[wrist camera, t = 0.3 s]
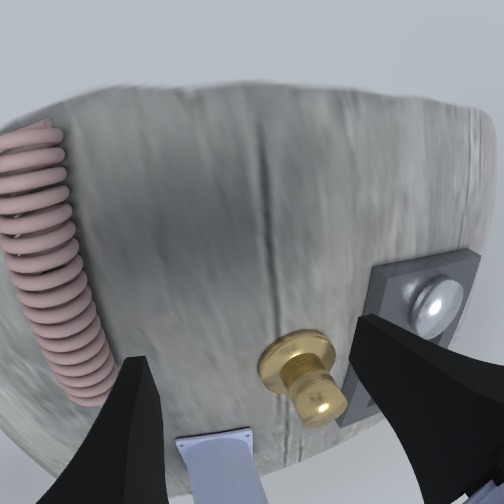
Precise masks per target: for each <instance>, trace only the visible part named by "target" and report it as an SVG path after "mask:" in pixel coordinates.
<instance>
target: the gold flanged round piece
mask: <svg viewBox="0 0 504 504" xmlns="http://www.w3.org/2000/svg"><path fill="white" fill-rule="evenodd" d="M335 357H336V353H335V349H334V347H333V345H332V344H331V343H330V341H329V340H328V339H327V337H326V336H325V335H324V334H322V333H321V332H318V331H315V330H301V331H296V332H293V333H290V334H288V335H286V336H283V337H282V338H280V339H278V340H277V341H275V342H274V343H273V344H272V345H271V346H270V347H269V348H268V349H267V350H266V351H265V352H264V354H263V355H262V357H261V359H260V362H259V373H260V376H261V379H262V381H263V383H264V385H265V387H266V388H267V389H268V390H270V391H272V392H274V393H278V394H288V395H289V397H290V399H291V401H292V403H293V405H294V408H295V410H296V412H297V414H298V416H299V418H300V420H301V422H302V424H303V426H305V427H307V428H316V427H320V426H323V425H326V424H328V423H330V422H332V421H333V420H335V419H336V418H338V417H339V416H340V415H341V414H342V413H343V412H344V411H345V409H346V407H347V405H348V402H347V400H346V398H345V397H344V395H343V394H342V392H341V390H340V389H339V387H338V386H337V384H336V383H335V381H334V380H333V378H332V376H331V375H330V373H329V371H330V370H331V368H332V366H333V364H334V361H335Z"/></svg>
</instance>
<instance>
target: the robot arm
mask: <svg viewBox="0 0 504 504" xmlns="http://www.w3.org/2000/svg"><path fill="white" fill-rule="evenodd" d="M348 359H349V361H350V363H351V365H352V367H353V369H354V371H355V373H356V375H357V377H358V379H359V380H360V382H361V383H362V385H363V386H364V388H365V389H366V391H367V392H368V393H369V395H370V396H371V398H372V399H373V401H374V402H375V403H376V405H377V406H378V407H379V409H380V410H381V412H382V413H383V414H384V416H385V417H386V419H387V420H388V422H389V423H390V425H391V426H392V428H393V429H394V431H395V433H396V435H397V437H398V438H399V440H400V442H401V444H402V446H403V448H404V450H405V452H406V454H407V456H408V459H409V461H410V463H411V465H412V468H413V470H414V473H415V475H416V478H417V481H418V483H419V487H420V490H421V493H422V497H423V500H424V504H451V503H452V502H454V501H455V500H457V499H458V498H459V497H461V496H462V495H463V494H464V493H466V495H467V496H468V498H469V499H467V500H466V501H465V502H464V503H463V504H504V366H502V365H497V364H492V363H488V362H484V361H479V360H476V359H473V358H470V357H467V356H464V355H461V354H458V353H456V352H453V351H450V350H448V349H446V348H443V347H441V346H439V345H436V344H434V343H432V342H430V341H428V340H426V339H424V338H422V337H420V336H417V335H415V334H413V333H411V332H409V331H407V330H405V329H404V328H402V327H400V326H398V325H396V324H394V323H392V322H390V321H388V320H385V319H383V318H381V317H379V316H377V315H374V314H368V315H365V316H361V317H358V321H357V325H356V330H355V334H354V338H353V343H352V347H351V351H350V355H349V358H348ZM175 442H176V445H177V447H178V450H179V452H180V454H181V456H182V458H183V460H184V462H185V464H186V466H187V468H188V474H189V480H190V485H191V490H192V495H193V500H194V504H269V503H268V500H267V498H266V495H265V492H264V489H263V487H262V484H261V481H260V478H259V475H258V472H257V469H256V466H255V463H254V460H253V440H252V430H251V429H250V428H246V429H241V430H236V431H230V432H224V433H218V434H211V435H204V436H197V437H189V438H179V439H176V440H175ZM36 504H169V502H168V497H167V491H166V482H165V465H164V437H163V419H162V411H161V403H160V396H159V393H158V391H157V388H156V385H155V383H154V380H153V377H152V374H151V371H150V368H149V365H148V362H147V359H146V356H137V357H127V358H126V359H125V360H124V362H123V365H122V367H121V369H120V371H119V374H118V376H117V378H116V380H115V382H114V384H113V387H112V389H111V391H110V393H109V395H108V397H107V399H106V401H105V403H104V405H103V407H102V409H101V411H100V413H99V415H98V417H97V418H96V420H95V422H94V424H93V425H92V427H91V429H90V431H89V433H88V434H87V436H86V438H85V440H84V441H83V443H82V444H81V446H80V448H79V449H78V451H77V452H76V454H75V455H74V457H73V458H72V460H71V461H70V463H69V464H68V465H67V467H66V468H65V469H64V471H63V472H62V473H61V475H60V476H59V477H58V479H57V480H56V481H55V483H54V484H53V485H52V486H51V487H50V489H49V490H48V491H47V492H46V493H45V494H44V495H43V496H42V497H41V498H40V500H39V501H38V502H37V503H36Z"/></svg>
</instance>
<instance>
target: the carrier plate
mask: <svg viewBox="0 0 504 504" xmlns="http://www.w3.org/2000/svg"><path fill="white" fill-rule="evenodd" d="M480 259H481V256H480V255H479V254H477V253H475V252H474V251H472V250H470V249H463V250H458V251H453V252H449V253H444V254H439V255H434V256H429V257H424V258H418V259H413V260H408V261H403V262H397V263H392V264H387V265H381V266H375V267H373V268H372V274H371V279H370V284H369V289H368V294H367V298H366V303H365V307H364V312H363V316H365V315H368V314H374V315H377V316H379V317H381V318H383V319H385V320H388V321H390V322H392V323H394V324H396V325H398V326H400V327H402V328H404V329H405V330H407V331H409V332H411V333H413V334H415V335H417V336H420V337H422V338H424V339H426V340H428V341H430V342H432V343H434V344H436V345H439V346H441V347H443V348H446V349H447V348H448V346H449V344H450V341H451V339H452V337H453V335H454V332H455V330H456V328H457V325H458V323H459V320H460V318H461V315H462V313H463V310H464V307H465V305H466V302H467V299H468V297H469V294H470V291H471V288H472V285H473V282H474V279H475V275H476V272H477V269H478V266H479V262H480ZM342 394H343V395H344V397H345V398H346V400H347V402H348V405H347V407H346V409H345V411H344V412H343V413H342V414H341V415H340V416H339V417H338V418H336V419H335V420H336V422H337V424H338V426H339V427H340V428H343V427H345V426H348V425H351V424H353V423H356V422H358V421H361V420H363V419H366V418H368V417H370V416H373V415H375V414H377V413H380V412H381V410H380V409H379V407H378V406H377V405H376V403H375V402H374V401H373V399H372V398H371V396H370V395H369V393H368V392H367V391H366V389H365V388H364V386H363V385H362V383H361V382H360V380H359V379H358V377H357V375H356V373H355V371H354V369H353V367H352V365H351V363H350V366H349V369H348V372H347V376H346V379H345V382H344V385H343V388H342Z"/></svg>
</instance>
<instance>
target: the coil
mask: <svg viewBox="0 0 504 504" xmlns="http://www.w3.org/2000/svg"><path fill="white" fill-rule="evenodd" d="M62 140H63V132H62V131H61V130H60V129H58V128H52V121H51V119H50V118H46V119H43V120H41V121H39V122H36V123H34V124H31V125H28V126H25V127H23V128H20V129H17V130H14V131H11V132H8V133H5V134H2V135H0V151H3V150H7V149H9V150H7V151H4V152H2V153H0V232H1V235H0V246H1V247H2V249H3V250H4V251H6V252H5V256H4V259H5V263H6V265H7V266H8V267H9V268H10V278H11V281H12V283H13V284H14V285H15V286H16V287H15V291H16V295H17V297H18V299H19V300H20V301H21V307H22V310H23V313H24V314H25V315H26V316H27V321H28V324H29V326H30V328H31V329H32V331H33V334H34V337H35V339H36V341H37V342H38V344H39V346H40V349H41V351H42V353H43V355H44V356H45V357H46V361H47V363H48V365H49V366H50V367H51V369H52V371H53V373H54V375H55V377H56V378H57V379H58V382H59V384H60V386H61V387H62V388H63V389H64V392H65V394H66V395H67V397H68V398H69V399H70V400H72V401H73V402H75V403H77V404H79V405H82V406H88V407H93V406H99V405H103V404H104V403H105V401H106V399H107V397H108V395H109V393H110V391H111V389H112V387H113V384H114V382H115V380H116V378H117V376H118V374H119V370H118V367H117V364H116V362H115V360H114V357H113V354H112V352H111V350H110V349H109V343H108V341H107V340H106V338H105V333H104V330H103V328H102V327H101V322H100V318H99V316H98V315H97V314H96V305H95V303H94V302H93V300H91V298H92V293H91V290H90V288H89V287H88V286H87V275H86V273H85V272H84V271H83V270H82V267H83V260H82V258H81V256H80V255H78V254H77V252H78V250H79V243H78V241H77V240H76V239H75V238H73V235H74V233H75V231H76V227H75V225H74V223H73V222H71V221H69V220H67V219H68V218H70V216H71V214H72V208H71V206H70V205H69V204H67V203H61V204H57V203H60V202H62V201H64V200H65V199H67V198H68V196H69V189H68V187H66V186H56V187H52V188H48V189H45V190H42V191H39V192H36V193H32V194H28V195H23V196H19V195H21V194H24V193H26V192H28V191H31V190H33V189H36V188H39V187H42V186H46V185H50V184H54V183H58V182H61V181H63V180H65V178H66V176H67V171H66V169H65V168H63V167H55V168H49V169H44V170H40V169H43V168H46V167H49V166H52V165H55V164H58V163H60V162H61V161H62V160H63V159H64V157H65V152H64V150H63V149H61V148H51V147H54V146H56V145H57V144H59V143H61V141H62ZM37 170H39V171H37ZM37 209H38V210H37ZM33 210H35V211H33ZM28 211H32V212H30V213H28V214H26V215H24V216H22V217H19V218H13V217H15V216H17V215H18V214H20V213H23V212H28ZM17 234H22V235H21V236H19V237H18V238H14V237H15V236H16V235H17ZM18 254H21V255H20V256H19V257H18V256H17V255H18ZM63 265H66V266H65V267H63V268H61V269H57V270H54V271H51V272H49V273H47V274H42V275H39V274H41V273H43V272H44V271H46V270H49V269H51V268H54V267H57V266H63ZM70 280H73V281H72V282H68V281H70ZM45 289H47V290H45ZM42 290H45V291H44V292H42V293H39V292H41V291H42ZM42 308H44V309H42ZM78 332H80V333H78ZM67 336H69V337H67ZM66 337H67V338H66Z"/></svg>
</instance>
